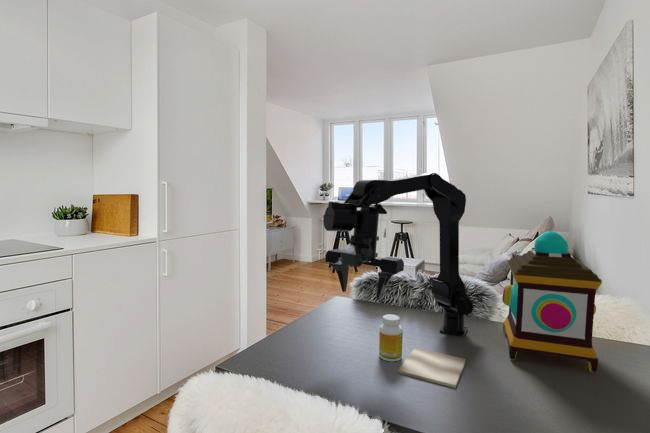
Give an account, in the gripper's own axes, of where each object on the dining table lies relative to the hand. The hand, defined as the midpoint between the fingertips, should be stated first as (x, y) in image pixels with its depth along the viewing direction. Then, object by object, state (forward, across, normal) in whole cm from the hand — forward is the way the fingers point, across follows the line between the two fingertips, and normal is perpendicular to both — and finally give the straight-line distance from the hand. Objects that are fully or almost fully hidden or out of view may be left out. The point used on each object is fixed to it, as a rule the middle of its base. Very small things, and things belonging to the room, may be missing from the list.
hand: (360, 295), depth 90 cm
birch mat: (+13, +18, +2) cm, 22 cm away
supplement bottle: (+14, +8, +1) cm, 16 cm away
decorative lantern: (+11, +40, +24) cm, 48 cm away
